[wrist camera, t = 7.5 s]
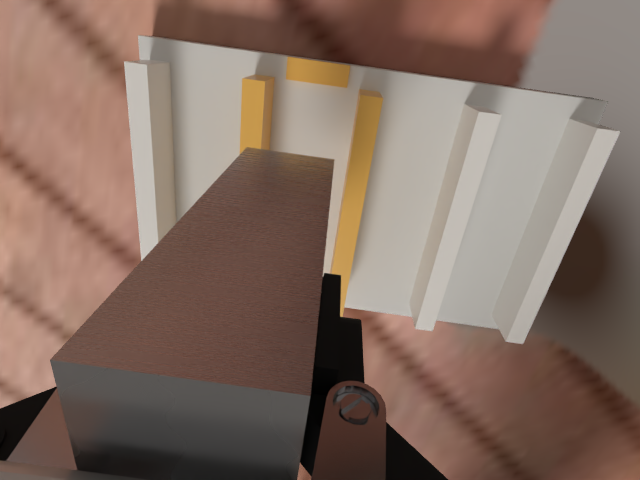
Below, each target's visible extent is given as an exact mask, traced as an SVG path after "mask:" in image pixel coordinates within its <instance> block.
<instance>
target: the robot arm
mask: <svg viewBox="0 0 640 480" xmlns="http://www.w3.org/2000/svg"><path fill="white" fill-rule="evenodd" d="M340 304H341V275H337V274H329V273H324V276H323V278H322V288H321V297H320V307H319V317H318V327H317V337H316V347H315V356H314V366H313V376H312V386H311V396H310V402H309V408H308V414H307V421H306V427H305V433H304V439H303V445H302V452H301V458H300V462H301V464H302V465H303V467H304V468H305V469H306V470H307V472H308V473H309V474H310V475H311V476H312V477H311V480H448V479H447V478H446V477H445V476H444V475H443V474H442V473H440V472H439V471H438V470H437V469H436V468H435V467H434V466H433V465H432V464H431V463H430V462H429V461H428V460H426V459H425V458H424V457H423V456H422V455H421V454H420V453H419V452H418V451H417V450H416V449H415V448H414V447H412V446H411V445H410V444H409V443H408V442H407V441H406V440H405V439H404V438H403V437H402V436H401V435H399V434H398V433H397V432H396V431H395V430H394V429H393V428H392V427H391V426H390V425H389V424H388V423H387V422H386V407H385V402H384V400H383V399H382V397H381V395H380V394H379V393H378V392H377V391H376V390H375V389H374V388H372V387H370V386H369V385H367V384H364V366H363V345H362V325H361V320H360V319H352V318H345V317H340ZM0 480H146V479H139V478H132V477H124V476H117V475H109V474H102V473H94V472H86V471H79V470H77V467H76V463H75V458H74V454H73V450H72V446H71V442H70V438H69V434H68V430H67V426H66V422H65V418H64V414H63V410H62V406H61V402H60V398H59V394H58V390H57V387H54V388H52V389H49V390H47V391H44V392H41V393H39V394H36V395H34V396H31V397H29V398H26V399H24V400H21V401H18V402H16V403H13V404H11V405H8V406H6V407H3V408H1V409H0Z"/></svg>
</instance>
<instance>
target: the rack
mask: <svg viewBox="0 0 640 480" xmlns="http://www.w3.org/2000/svg"><path fill="white" fill-rule="evenodd" d="M138 41H139V55H140V60H138V61H125V62H124V66H125V78H126V89H127V101H128V112H129V123H130V135H131V146H132V158H133V169H134V181H135V192H136V204H137V215H138V227H139V238H140V249H141V261H142V260H143V259H144V258H145V257H146V256H147V254H148V253H149V252H150V251H151V250H152V249H153V248H154V247H155V246H156V245H157V244H158V243H159V241H160V240H161V239H162V238H163V237H164V236H165V235H166V234H167V233H168V232H169V231H170V230H171V228H172V227H173V226H174V225H175V224H176V223H177V222H178V221H179V220H180V219H181V218H182V217H183V215H184V214H185V213H186V212H187V211H188V210H189V209H190V208H191V207H192V206H193V205H194V204H195V202H196V201H197V200H198V199H199V198H200V197H201V196H202V195H203V194H204V193H205V192H206V191H207V189H208V188H209V187H210V186H211V185H212V184H213V183H214V182H215V181H216V180H217V179H218V178H219V176H220V175H221V174H222V173H223V172H224V171H225V170H226V169H227V168H228V167H229V166H230V165H231V163H232V162H233V161H234V160H235V159H236V158H237V157H238V156H239V155H240V154H241V153H242V152H243V150H244V149H245V148H246V147H250V148H257V149H264V150H271V151H278V152H285V153H293V154H300V155H307V156H314V157H321V158H328V159H335V160H334V170H333V180H332V189H331V199H330V209H329V219H328V229H327V238H326V248H325V258H324V268H323V276H324V273H329V274H337V275H341V304H340V317H342V316H343V311H344V307H346V308H353V309H360V310H367V311H374V312H381V313H388V314H395V315H402V316H410V317H412V318H413V322H414V326H415V329H420V330H427V331H433V328H434V325H435V322H436V320H438V321H445V322H452V323H459V324H466V325H473V326H480V327H487V328H494V329H499V330H500V332H501V334H502V336H503V338H504V339H505V341H506V342H512V343H519V344H523V343H524V341H525V339H526V337H527V334H528V332H529V330H530V328H531V326H532V323H533V321H534V319H535V317H536V315H537V313H538V310H539V308H540V306H541V303H542V302H543V299H544V297H545V295H546V293H547V291H548V289H549V286H550V284H551V282H552V280H553V277H554V275H555V273H556V271H557V269H558V267H559V264H560V262H561V260H562V258H563V256H564V254H565V251H566V249H567V247H568V245H569V242H570V240H571V238H572V236H573V234H574V232H575V229H576V227H577V225H578V223H579V221H580V219H581V216H582V214H583V212H584V210H585V208H586V205H587V203H588V201H589V199H590V197H591V195H592V192H593V190H594V188H595V186H596V184H597V181H598V179H599V177H600V175H601V173H602V171H603V168H604V166H605V164H606V162H607V160H608V157H609V155H610V153H611V151H612V149H613V146H614V144H615V142H616V140H617V138H618V136H619V133H620V131H617V130H614V129H610V128H608V127H605V126H602V125H599V122H600V120H601V118H602V116H603V113H604V111H605V108H606V106H607V104H608V101H603V100H599V99H594V98H588V97H582V96H574V95H567V94H560V93H553V92H546V91H538V90H532V89H525V88H518V87H511V86H504V85H496V84H489V83H482V82H475V81H468V80H461V79H454V78H447V77H440V76H432V75H425V74H418V73H411V72H404V71H397V70H390V69H383V68H376V67H369V66H361V65H354V64H347V63H340V62H333V61H326V60H319V59H312V58H305V57H298V56H290V55H283V54H276V53H269V52H262V51H255V50H248V49H241V48H234V47H227V46H219V45H212V44H205V43H198V42H191V41H184V40H177V39H170V38H163V37H156V36H140V35H138Z"/></svg>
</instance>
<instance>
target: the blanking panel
mask: <svg viewBox="0 0 640 480" xmlns="http://www.w3.org/2000/svg"><path fill="white" fill-rule="evenodd" d="M334 160H335V159H328V158H321V157H314V156H307V155H300V154H293V153H285V152H278V151H271V150H264V149H257V148H250V147H246V148H245V149H244V150H243V152H242V153H241V154H240V155H239V156H238V157H237V158H236V159H235V160H234V161H233V162H232V163H231V165H230V166H229V167H228V168H227V169H226V170H225V171H224V172H223V173H222V174H221V175H220V176H219V178H218V179H217V180H216V181H215V182H214V183H213V184H212V185H211V186H210V187H209V188H208V189H207V191H206V192H205V193H204V194H203V195H202V196H201V197H200V198H199V199H198V200H197V201H196V202H195V204H194V205H193V206H192V207H191V208H190V209H189V210H188V211H187V212H186V213H185V214H184V215H183V217H182V218H181V219H180V220H179V221H178V222H177V223H176V224H175V225H174V226H173V227H172V228H171V230H170V231H169V232H168V233H167V234H166V235H165V236H164V237H163V238H162V239H161V240H160V241H159V243H158V244H157V245H156V246H155V247H154V248H153V249H152V250H151V251H150V252H149V253H148V254H147V256H146V257H145V258H144V259H143V260H142V261H141V262H140V263H139V264H138V265H137V266H136V267H135V269H134V270H133V271H132V272H131V273H130V274H129V275H128V276H127V277H126V278H125V279H124V280H123V282H122V283H121V284H120V285H119V286H118V287H117V288H116V289H115V290H114V291H113V292H112V293H111V295H110V296H109V297H108V298H107V299H106V300H105V301H104V302H103V303H102V304H101V305H100V306H99V308H98V309H97V310H96V311H95V312H94V313H93V314H92V315H91V316H90V317H89V318H88V319H87V321H86V322H85V323H84V324H83V325H82V326H81V327H80V328H79V329H78V330H77V331H76V332H75V334H74V335H73V336H72V337H71V338H70V339H69V340H68V341H67V342H66V343H65V344H64V345H63V347H62V348H61V349H60V350H59V351H58V352H57V353H56V354H55V355H54V356H53V357H52V358H51V359H50V362H51V366H52V370H53V374H54V378H55V382H56V386H57V390H58V394H59V398H60V402H61V406H62V410H63V414H64V418H65V422H66V426H67V430H68V434H69V438H70V442H71V446H72V450H73V454H74V458H75V463H76V467H77V470H79V471H86V472H94V473H102V474H109V475H117V476H124V477H132V478H139V479H146V480H297V477H298V470H299V464H300V458H301V452H302V445H303V439H304V433H305V427H306V421H307V414H308V408H309V402H310V396H311V386H312V376H313V366H314V356H315V347H316V337H317V327H318V317H319V307H320V297H321V288H322V278H323V268H324V258H325V248H326V238H327V229H328V219H329V209H330V199H331V189H332V180H333V170H334Z"/></svg>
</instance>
